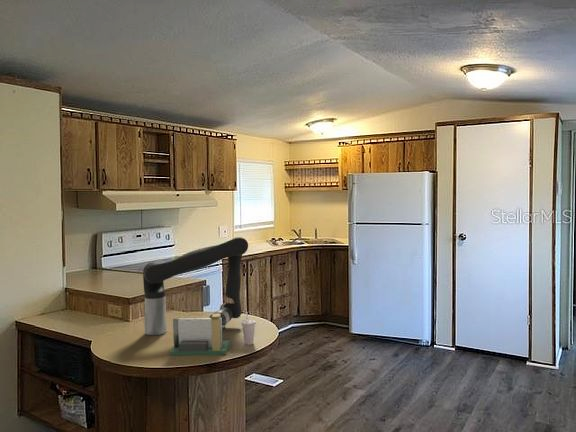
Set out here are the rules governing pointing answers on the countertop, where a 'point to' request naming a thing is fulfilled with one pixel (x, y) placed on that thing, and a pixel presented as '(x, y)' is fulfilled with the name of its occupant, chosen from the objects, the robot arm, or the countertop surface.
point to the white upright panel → (193, 330)
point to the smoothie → (248, 330)
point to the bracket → (205, 343)
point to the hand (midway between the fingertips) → (204, 331)
